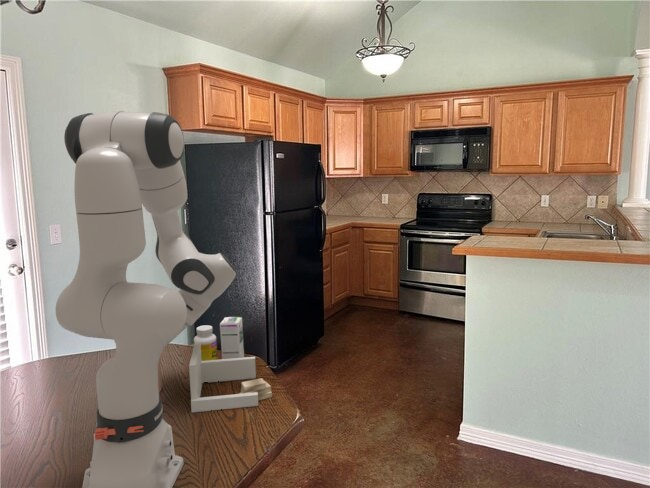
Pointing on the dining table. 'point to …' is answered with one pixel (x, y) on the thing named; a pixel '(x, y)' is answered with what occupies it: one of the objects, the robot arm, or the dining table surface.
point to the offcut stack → (257, 388)
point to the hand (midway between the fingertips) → (153, 342)
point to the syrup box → (232, 338)
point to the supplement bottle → (207, 342)
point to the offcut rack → (220, 372)
